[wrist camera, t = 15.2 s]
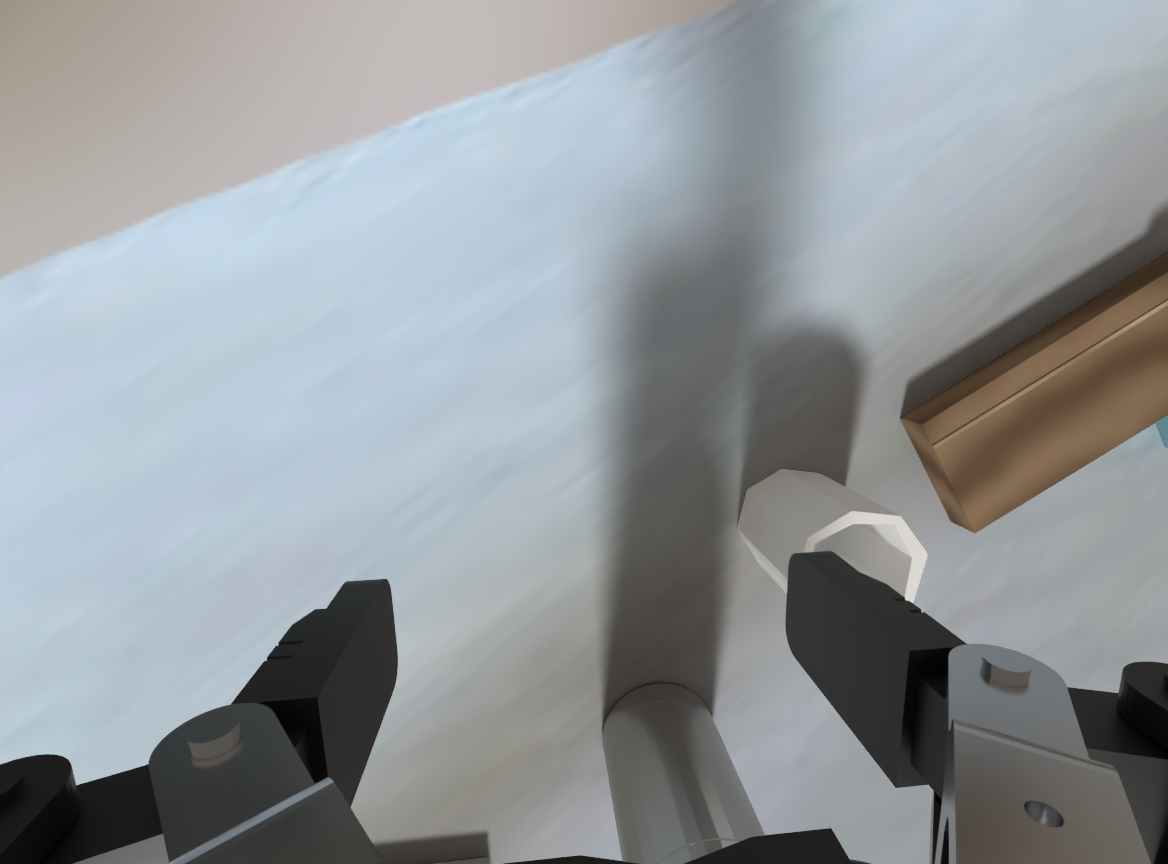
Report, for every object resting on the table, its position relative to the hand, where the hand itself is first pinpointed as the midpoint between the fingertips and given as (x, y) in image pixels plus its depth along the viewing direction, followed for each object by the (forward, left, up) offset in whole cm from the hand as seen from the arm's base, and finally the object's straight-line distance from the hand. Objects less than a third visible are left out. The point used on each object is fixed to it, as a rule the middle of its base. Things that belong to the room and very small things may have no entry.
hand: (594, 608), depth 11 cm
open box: (-1, -40, -30) cm, 50 cm away
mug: (-12, -19, -31) cm, 38 cm away
